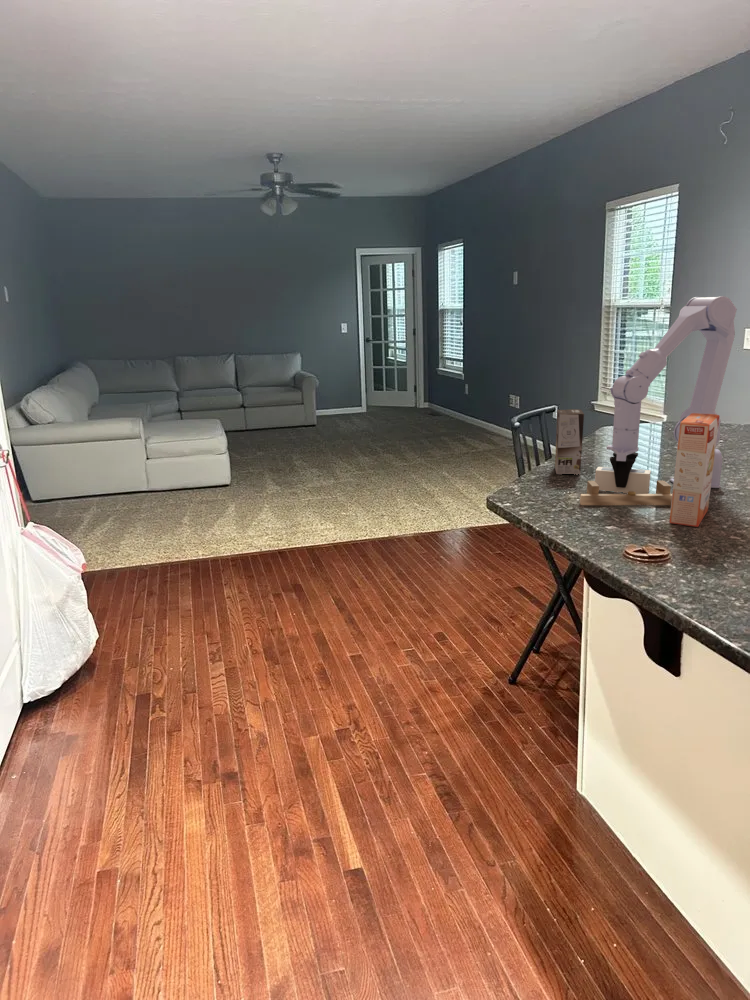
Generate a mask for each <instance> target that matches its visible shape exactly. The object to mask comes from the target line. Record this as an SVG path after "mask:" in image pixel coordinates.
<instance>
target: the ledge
mask: <svg viewBox="0 0 750 1000" xmlns="http://www.w3.org/2000/svg"><path fill="white" fill-rule="evenodd" d="M586 483H587V485H586V493H580V496H579V504H580V506H671V501H672V493H671V487H672V486H671V485H670V484H669V483H668V482H666V481H665V480H656V486H655V487H656V488H655V493H648V494H636V492H634V491H629V492H628V493H599V492H600V491H599V485H598V484H597V483H596V482H595V480H587V482H586Z"/></svg>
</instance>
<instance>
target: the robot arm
mask: <svg viewBox="0 0 750 1000" xmlns="http://www.w3.org/2000/svg"><path fill="white" fill-rule="evenodd" d="M737 310H738V309H737V307H736V306H735V305H734V303H733V301H732V300H731V299H730V298H729V297H727V296H725V295H721V296H720V295H719V296H707V297H702V296H695V297H692V298H690V299H689V300H688V301H687V303H686V304H685V305H684V306H683V307H682V308H680V310H679V315H678V317H677V318H676V319H675V321H674V322H672V323H673V324H671V326H670V328H668V330H667V331H666V333H664V335H663V336H662V337H661V339H660V340H659V341H658V343H657V344H656V346H655V347H654V348H650V349H645V351H641V352H640V353H639V355H638V357H639V358H637V360H636V361H635V363H633V365H632V366H631V367H630V368H629V369H626V370H625V375H622V376H619V377H617V378H616V380H614V382H613V385H612V387H610V394H611V396H612V398H613V401H614V402H613V404H614V413H613V426H612V430H613V431H612V441H611V442H612V444H610V445H609V444H608V445H607V446H606V450H609V451H610V450H611V452H613V454H612V456H610V457H609V462H610V464H611V468H613V470H614V475H615V483H616V487H621V488H625V487H626V485H627V482H628V478H629V473H630V470H631V469H633V467H634V466H633V465H634V464H635V462H636V461H637V460H636V459H637V458H638V456H639V453H638V451H639V450H640V449H639V435H640V423H641V411H642V401H643V400H644V399H645V398H647V396H648V393H649V388H650V386H651V384H652V383H653V382H654V381H655V379H656V378H657V377H658V376H659V375H660V373H661V372H662V371H663V370H664V368H665V367H666V366H667V365H668V361H667V359H668V356H670V355H671V353H672V352H674V350H675V349H676V348H677V347H678V346H679V345H680V344H681V343H682V342H683V341H684V340H685V339H686V338H687V337H688V336H689V335H690V334H691V333H692V332H696V331H699V332H700V333H701V335H702V336H703V337H704V339H705V340H706V344H705V347H704V351H703V355H702V359H701V363H700V367H699V371H698V375H697V378H696V383H695V386H694V391H693V394H692V398H691V402H690V406H689V407H688V408H686V409H685V410H684V411H683V412H682V413H681V415H680V417H679V420H678V422H676V424H675V425H674V426H675V427H674V429H673V438H674V440H675V441H676V442H677V443H678V435H679V427H680V422H681V421H683V420H684V419H685V418H686V417H687V416H689V415H690V414H691V413H699V414H716V415H718V414H717V412H716V407H717V403H718V400H719V396H720V392H721V389H722V385H723V381H724V379H725V374H726V372H727V371H726V370H727V366H728V363H729V359H730V355H731V351H732V347H733V344H734V340H735V337H736V334H735V333H736V332H735V330H736V329H735V321H734V320H735V317H736V313H737ZM721 422H722V421H721V418H720V417H719V425H718V433H717V441H716V446H717V445H718V444H719V442H720V439H721V430H720V426H721ZM722 466H723V456H722V452H721V450H720V449H718V448H716V449H715V457H714V465H713V474H712V482H711V489H720V488H721V477H722ZM669 481H670V482H671V483H672V484H673V483H674V477H671V478H669Z"/></svg>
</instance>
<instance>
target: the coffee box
mask: <svg viewBox="0 0 750 1000" xmlns="http://www.w3.org/2000/svg"><path fill="white" fill-rule="evenodd" d="M584 419H585V413H584V412H583V410H582V409H581V408H580V409H579V408H578V409H576V408H575V409H573V408H572V409H557V411H556V433H555V435H556V436H555V456H554V458H555V459H554V469H555V473H556V475H562V474H574V475H573V476H581V468H582V467H581V466H582V454H583V453H582V452H583V436H584V435H583V434H584V422H585V421H584ZM575 474H576V475H575ZM578 474H579V475H578Z"/></svg>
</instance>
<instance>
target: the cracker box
mask: <svg viewBox="0 0 750 1000" xmlns="http://www.w3.org/2000/svg"><path fill="white" fill-rule="evenodd" d="M716 414H717V413H716ZM716 414H699V413H691V414H690V415H689V416H687V417H686V418H685V419H684V420H683V421H681V422H680V427H679V435H678V442H677V447H676V456H675V457H676V458H675V466H674V476H673V478H674V483H673V482H672V484H673V485H672V493H671V494H672V501H671V505H670V513H669V524H674V525H680V526H686V527H687V526H688V527H695V528H699V526H700V524H701V522H702V521H703V519H704V517H705V515H706V514H708V513H707V512H708V511H709V506H710V505H709V503H710V496H711V490H712V488H711V482H712V474H713V465H714V457H715V449H717V447H716V446H717V445H716V441H717V433H718V425H719V418H720V415H719V414H717V415H716Z"/></svg>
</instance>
